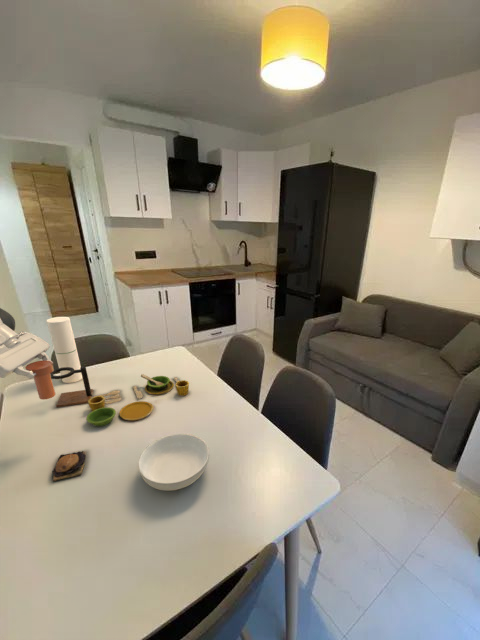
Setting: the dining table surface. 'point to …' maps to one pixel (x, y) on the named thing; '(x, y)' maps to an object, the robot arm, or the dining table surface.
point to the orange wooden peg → (43, 378)
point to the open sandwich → (69, 465)
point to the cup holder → (75, 396)
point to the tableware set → (135, 409)
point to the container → (64, 346)
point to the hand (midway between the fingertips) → (42, 370)
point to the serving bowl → (173, 461)
